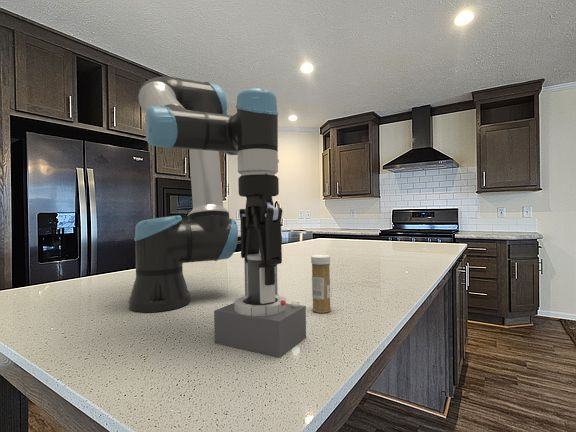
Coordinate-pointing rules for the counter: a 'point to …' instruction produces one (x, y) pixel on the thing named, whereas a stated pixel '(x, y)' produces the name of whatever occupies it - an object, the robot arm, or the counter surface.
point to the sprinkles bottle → (321, 283)
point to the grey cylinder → (254, 279)
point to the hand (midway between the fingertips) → (260, 298)
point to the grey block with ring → (261, 326)
